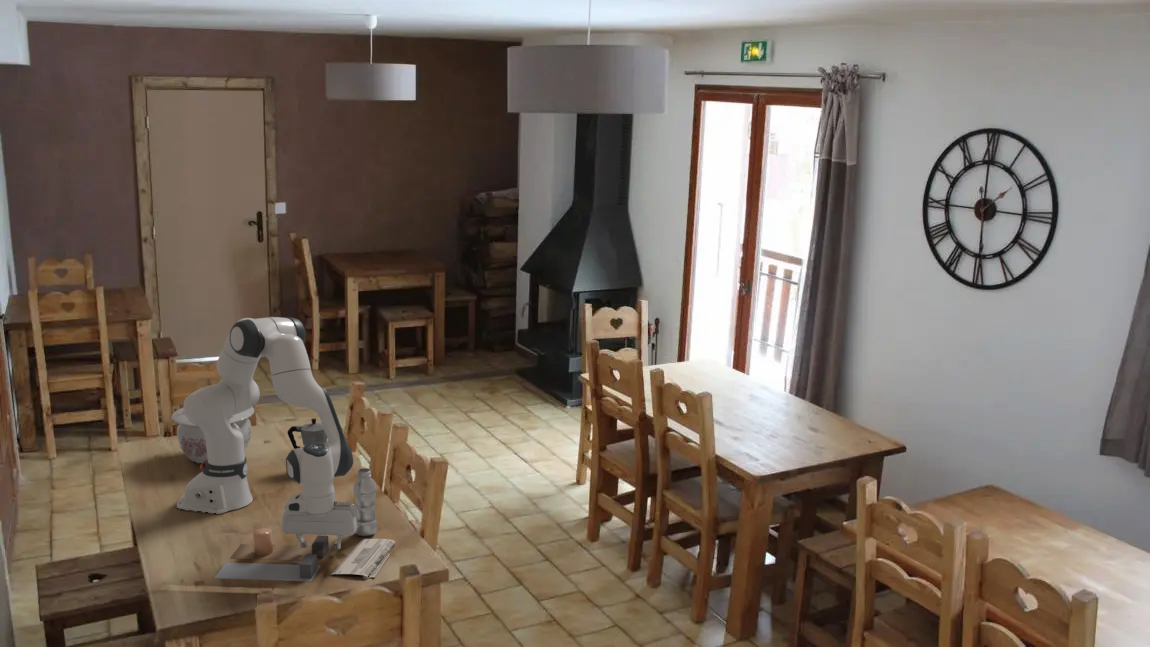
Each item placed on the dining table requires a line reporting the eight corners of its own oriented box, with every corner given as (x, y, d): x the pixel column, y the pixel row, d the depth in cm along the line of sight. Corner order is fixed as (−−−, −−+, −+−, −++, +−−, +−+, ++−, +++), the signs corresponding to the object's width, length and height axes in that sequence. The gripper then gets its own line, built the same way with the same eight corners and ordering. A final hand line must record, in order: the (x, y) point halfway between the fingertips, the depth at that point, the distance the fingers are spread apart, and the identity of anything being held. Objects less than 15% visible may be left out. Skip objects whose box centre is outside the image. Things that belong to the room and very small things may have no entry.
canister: (251, 555, 283) (250, 535, 281) (257, 547, 288) (256, 527, 286) (269, 556, 283) (268, 536, 281) (275, 548, 288) (274, 528, 286)
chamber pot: (186, 445, 370) (182, 390, 365) (264, 443, 373) (260, 389, 368) (164, 474, 343) (159, 415, 338) (248, 472, 346) (245, 414, 341)
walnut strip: (229, 562, 281) (228, 544, 280) (241, 547, 290) (240, 530, 289) (323, 565, 281) (322, 547, 279) (332, 550, 289) (331, 533, 288)
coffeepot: (335, 462, 356) (333, 413, 352) (335, 472, 347) (333, 422, 343) (289, 465, 353) (287, 415, 348) (288, 475, 344) (286, 424, 340)
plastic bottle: (355, 529, 303) (353, 466, 299) (378, 529, 304) (377, 466, 299) (352, 539, 297) (350, 474, 292) (376, 538, 298) (374, 474, 293)
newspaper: (373, 582, 273) (372, 574, 273) (331, 582, 276) (329, 573, 275) (402, 545, 295) (401, 537, 294) (363, 545, 297) (362, 537, 297)
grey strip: (214, 582, 270) (212, 564, 269) (226, 566, 279) (225, 549, 278) (311, 585, 269) (310, 567, 268) (321, 569, 278) (320, 551, 277)
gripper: (358, 498, 284) (360, 543, 287) (285, 495, 285) (288, 541, 288) (353, 507, 278) (355, 553, 281) (278, 505, 278) (281, 551, 282)
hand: (320, 547), depth 284 cm, fingers open, 8 cm apart
